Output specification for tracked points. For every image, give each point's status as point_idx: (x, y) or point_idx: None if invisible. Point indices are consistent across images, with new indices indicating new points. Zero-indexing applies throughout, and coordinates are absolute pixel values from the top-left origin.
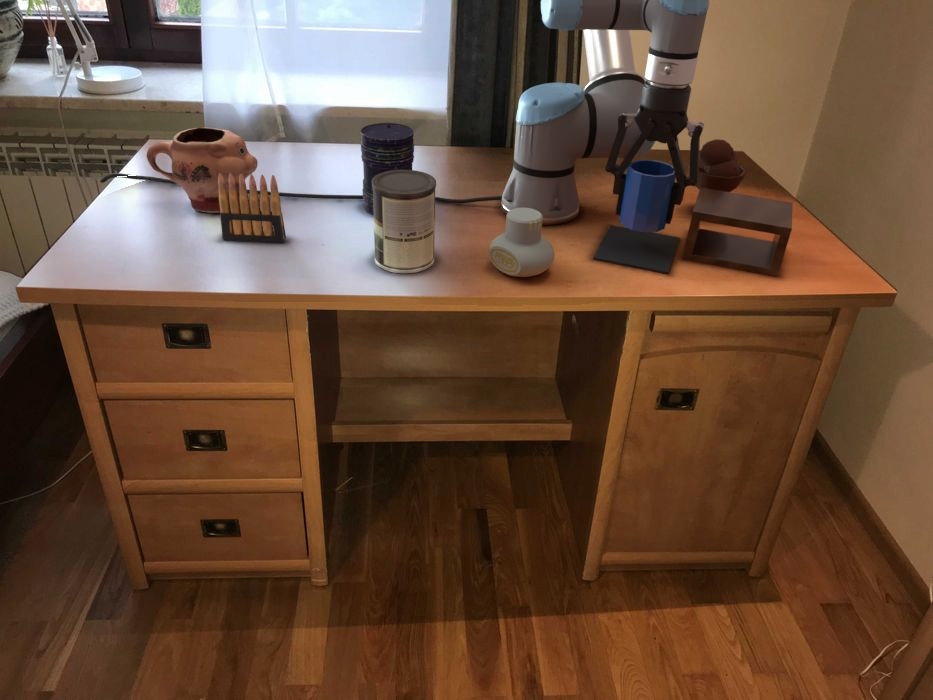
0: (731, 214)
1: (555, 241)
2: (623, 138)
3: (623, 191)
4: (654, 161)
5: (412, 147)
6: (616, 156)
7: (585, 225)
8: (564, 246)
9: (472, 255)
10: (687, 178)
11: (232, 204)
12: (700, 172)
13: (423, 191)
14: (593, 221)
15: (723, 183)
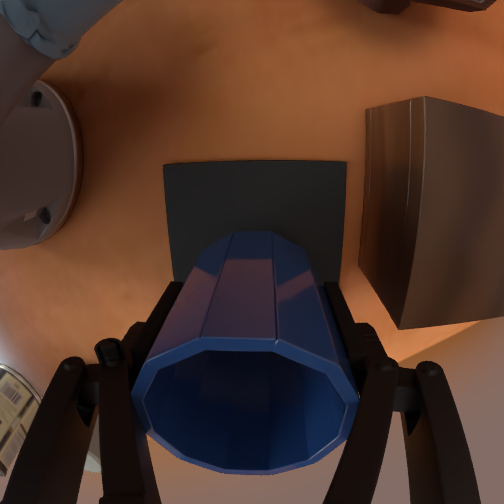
0: (488, 298)
1: (97, 292)
2: (59, 487)
3: None
4: (231, 349)
5: None
6: (88, 447)
7: (113, 187)
8: (119, 306)
9: (47, 370)
10: (397, 405)
11: None
12: None
13: (4, 474)
14: (121, 154)
15: (463, 10)
